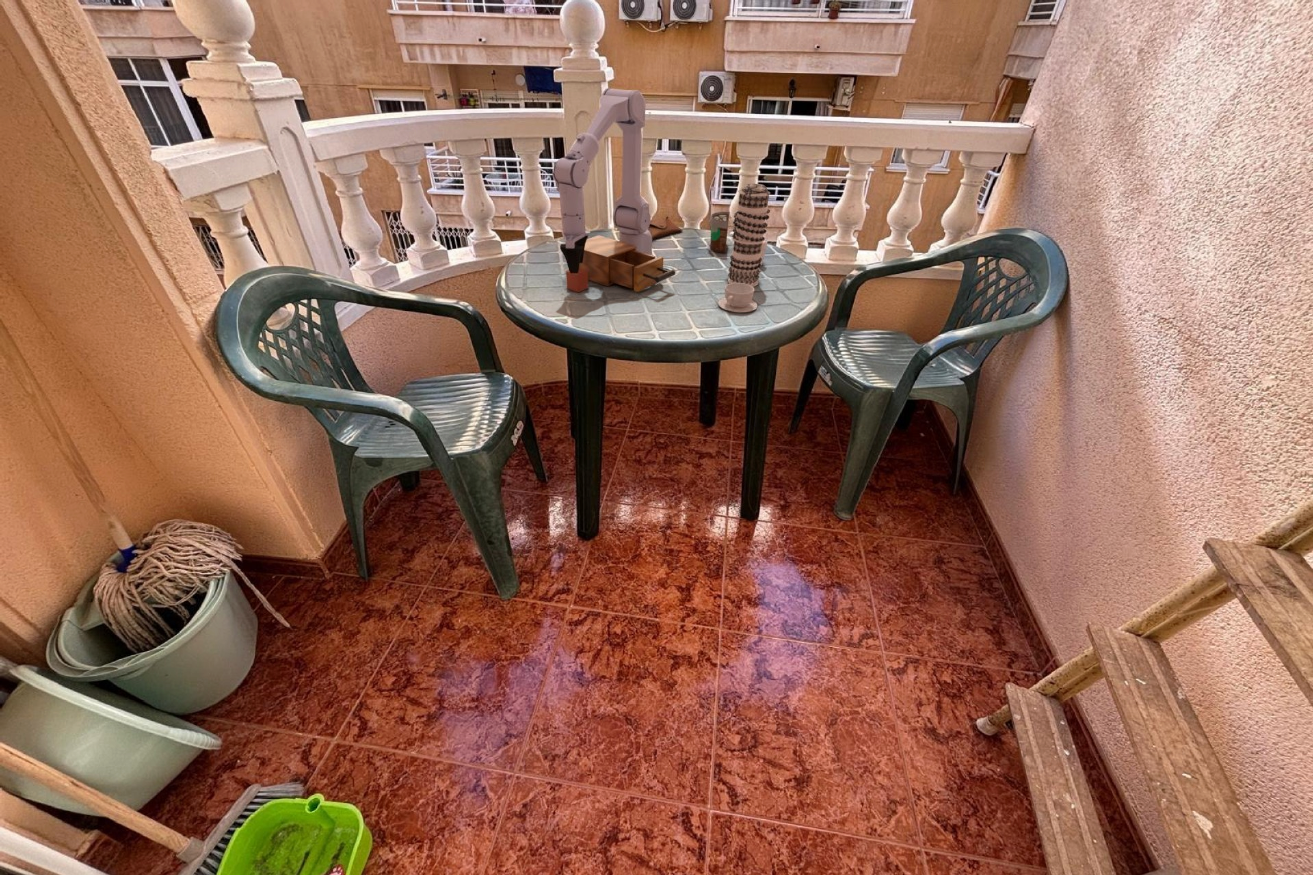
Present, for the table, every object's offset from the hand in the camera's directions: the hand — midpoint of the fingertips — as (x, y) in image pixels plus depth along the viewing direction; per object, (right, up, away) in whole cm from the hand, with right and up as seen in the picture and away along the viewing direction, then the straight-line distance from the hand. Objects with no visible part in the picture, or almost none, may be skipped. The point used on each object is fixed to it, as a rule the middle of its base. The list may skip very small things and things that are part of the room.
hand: (576, 267), depth 139 cm
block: (0, -4, +3) cm, 6 cm away
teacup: (+42, -11, -3) cm, 43 cm away
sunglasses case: (+22, +25, +44) cm, 55 cm away
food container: (+40, +17, +34) cm, 55 cm away
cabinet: (+6, +2, +12) cm, 14 cm away
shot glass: (+50, +8, +23) cm, 56 cm away
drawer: (+16, -2, +6) cm, 17 cm away
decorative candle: (+45, -1, +10) cm, 47 cm away
